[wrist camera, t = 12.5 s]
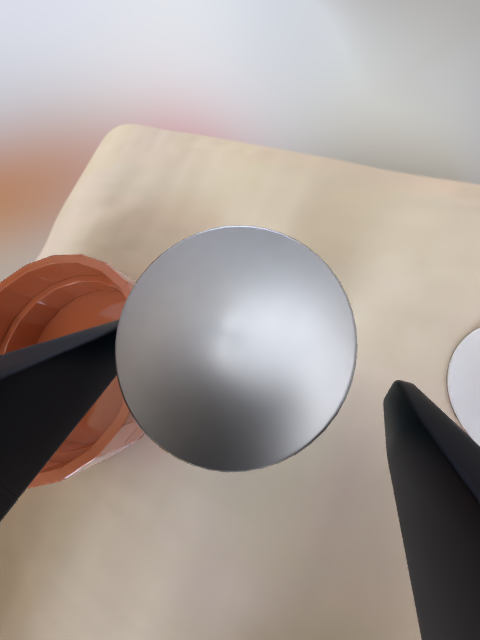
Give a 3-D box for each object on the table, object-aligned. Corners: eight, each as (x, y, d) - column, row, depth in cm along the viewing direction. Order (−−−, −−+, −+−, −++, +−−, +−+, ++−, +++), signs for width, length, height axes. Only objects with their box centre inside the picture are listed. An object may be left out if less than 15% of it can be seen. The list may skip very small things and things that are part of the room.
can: (267, 420, 15) (226, 552, 4) (212, 363, 16) (68, 342, 5) (322, 360, 15) (428, 323, 4) (262, 309, 17) (224, 182, 6)
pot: (131, 494, 15) (72, 540, 11) (-3, 410, 19) (-89, 421, 14) (208, 310, 17) (183, 289, 13) (75, 262, 20) (20, 233, 16)
